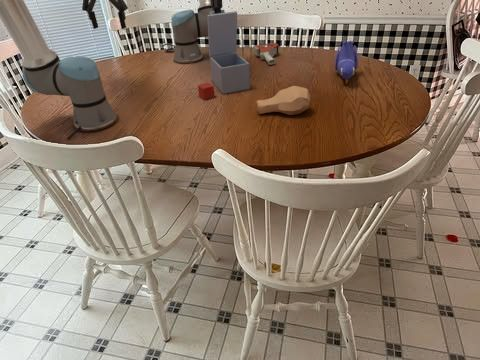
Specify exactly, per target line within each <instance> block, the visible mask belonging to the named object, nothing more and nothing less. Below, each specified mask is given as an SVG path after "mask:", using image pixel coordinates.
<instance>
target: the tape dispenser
mask: <svg viewBox="0 0 480 360" xmlns="http://www.w3.org/2000/svg"><path fill="white" fill-rule="evenodd" d="M266 46H267V47H266ZM279 48H280V47H279V44H278V43H277V42H270V43H269V42H268V43H263V44H259V45H253V46H252V50H253V54H254V55H255V56H256V57H259V58H260V61H266V62H267V64H268V66H271V65H275V63H276V59H275V58H274V56H278V55H279Z"/></svg>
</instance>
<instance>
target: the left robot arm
mask: <svg viewBox="0 0 480 360" xmlns="http://www.w3.org/2000/svg"><path fill="white" fill-rule="evenodd" d="M108 1H109V2H110V3H111V5H112V6H113V7H115V8H116V9H117V16H118V20H119V24H120V28H121V30H124V29H127V24H126V19H127V18H126V12H125V11H127V10H128V9H129V6H128V5H127V3H126V2H125V0H108ZM96 2H97V0H82V6H81V10H82V12H83V11H85V12H86V13H87V15H88V19H89V21H91V24H92V28H93V30H96V29H98V28H99V24H98V20H97V16H96V13H95V11H94V7H95V4H96ZM0 20H1V22H2V24H3V25H4V27H5V29H6V30H7V33H8V34H9V36H10V37H11V39H12V41H13V42H14V44H15V45H16V48H17V49H18V50H19V52H20V54H21V56H22V57H23V58H22V61H21V64H22V71H21V72H22V73H23V74H22V78H23V81H24V83H25V85H26V87H28V88H29V89H30V90H31V91H32V92H34V93H37V94H41V95H45V96H62V97H69V99H70V101H71V104H72V108H73V114H72V117H73V118H72V119H73V125H74V128H75V130H74V131H73V132H72V133H70V134H69V135H68V136H67V137H66V139H67V140H70V139H71V138H72V137H73V136H74V135H75V134H77V133H78V132H84V133H92V132H99V131H102V130H105V129H107V128H110V127H111V126H113V125H115V124H116V122H117V121H118V116H117V113H116V111H115V110H114V108H113V107H112V105H111V103H110V102H109V101H108V99H107V96H106V92H105V89H104V87H103V86H104V85H103V82H102V79H101V78H102V77H101V73H100V71H99V69H98V66H97V64H96V62H95V61H94V60H93V59H92V58H89V57H86V56H82V55H81V56H80V55H79V56H78V55H76V56H67V57H64V58H62V59H60V57H59V55H58V53H57V52H56V51H55V50H53V49H50V47H49V46H48V44H47V42H46V40H45V38H44V37H43V35H42V32H41V30H40V28H39V27H38V24H37V23H36V22H35V19H34V18H33V16H32V14H31V12H30V10H29V8H28V6H27V5H26V2H25V0H0Z"/></svg>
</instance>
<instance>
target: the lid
mask: <svg viewBox="0 0 480 360" xmlns="http://www.w3.org/2000/svg"><path fill="white" fill-rule="evenodd" d="M209 13H210V15H208V37H207V38H208V56H209V57H213V56H219V55H225V54H231V53H237V46H238V45H237V42H238V11H237V10H235V11H228V12H226V11H225V9H221V13H219V14H215V13H214V11H210V12H209Z"/></svg>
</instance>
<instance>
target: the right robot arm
mask: <svg viewBox="0 0 480 360" xmlns="http://www.w3.org/2000/svg"><path fill="white" fill-rule="evenodd" d="M198 2H199V6H198V7H197V9H196V10H197V12H195V11H194V10H193V9H184V10H181V11H178V12H175V13H173V14H172V16H171V27H172V32H173V40H174V44H172V43H164V44H163V45H162V47H165V46H171V47H170V48H166V49H165V53H173V62H175V63H177V64H181V65H182V64H183V65H186V64H193V63H197V62H198V63H199V62H200V61H202V60H203V57H204V56H203V53H202V50H201V48H200V46H199V43H198V39H199V38H208V15H210V13H209V12H210V11H214V13H215V14H219V13H221V10H222V9H223V0H198Z"/></svg>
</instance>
